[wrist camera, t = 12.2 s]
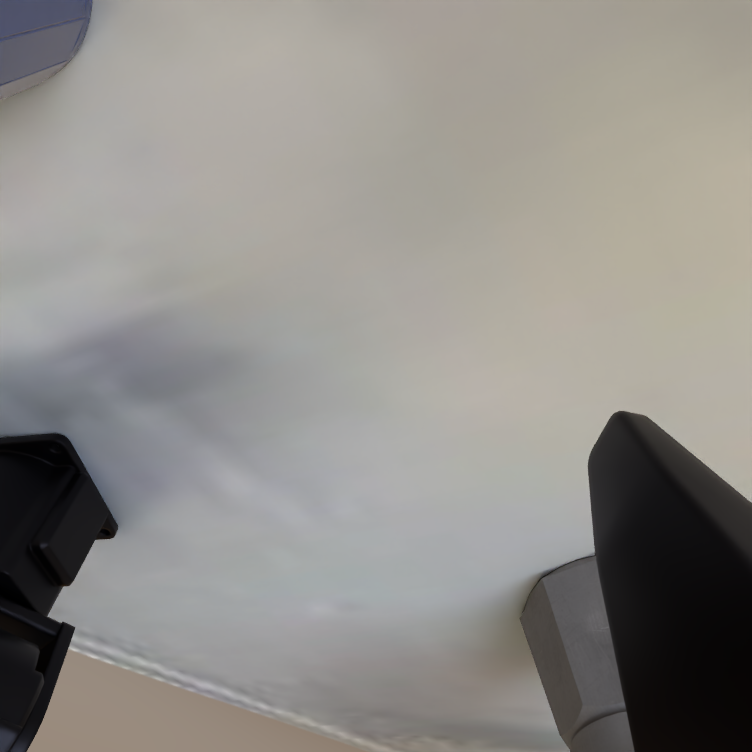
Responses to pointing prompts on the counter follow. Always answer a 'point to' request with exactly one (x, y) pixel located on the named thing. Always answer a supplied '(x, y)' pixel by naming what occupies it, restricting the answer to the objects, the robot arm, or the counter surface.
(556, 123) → the counter surface
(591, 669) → the coffeepot
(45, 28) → the holder cup
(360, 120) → the counter surface
